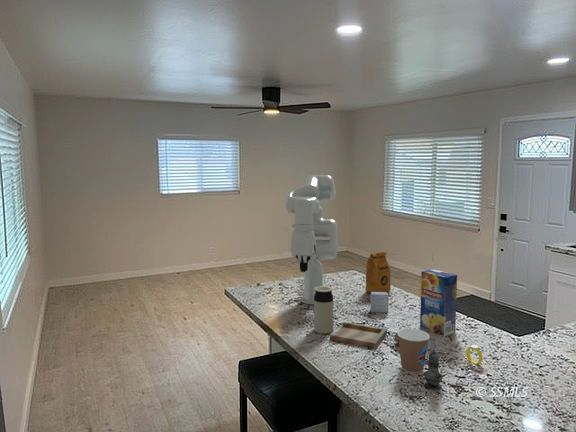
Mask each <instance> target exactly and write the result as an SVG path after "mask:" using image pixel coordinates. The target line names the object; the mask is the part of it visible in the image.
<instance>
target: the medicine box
mask: <svg viewBox="0 0 576 432" xmlns="http://www.w3.org/2000/svg"><path fill="white" fill-rule="evenodd" d="M388 293H389V292H371V293H370V312H371V313H389V294H388Z"/></svg>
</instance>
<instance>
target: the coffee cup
mask: <svg viewBox="0 0 576 432" xmlns="http://www.w3.org/2000/svg"><path fill="white" fill-rule="evenodd" d="M397 332H398V333H397ZM397 332H396V333H397V334H398V338H399V344H398V346H399V357H400V366H401V369H402V370H404V371H405V372H406V373H410V374H420V373H422V372H423V371H424V368H425V363H426V357H427V352H428V351H427V350H428V344H429V339H430V334H429V333H427V332H426V331H425V330H421V329H417V328H416V329H415V328H404V329H403V328H402V329H400V330H398V331H397Z"/></svg>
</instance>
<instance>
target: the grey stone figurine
mask: <svg viewBox="0 0 576 432" xmlns="http://www.w3.org/2000/svg"><path fill="white" fill-rule="evenodd" d="M439 359H440V358H439V353H438V352H437V351H436V349H435V348H433V349H432V351H430V352H429V353H428V361H427V362H426V363H427V365H428V368H427V370H426V371H424V372H423V373H422V375H423V376H424V377H423V378H424V380H425V382H424V383H423V386H424V388H425V389H428V390H430V391H435V392H437V391H441V390H442V388H443V387H442V385H441V383H442V381H443V379H444V375H443V373H441V372H439V367H440V363H439Z"/></svg>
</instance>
